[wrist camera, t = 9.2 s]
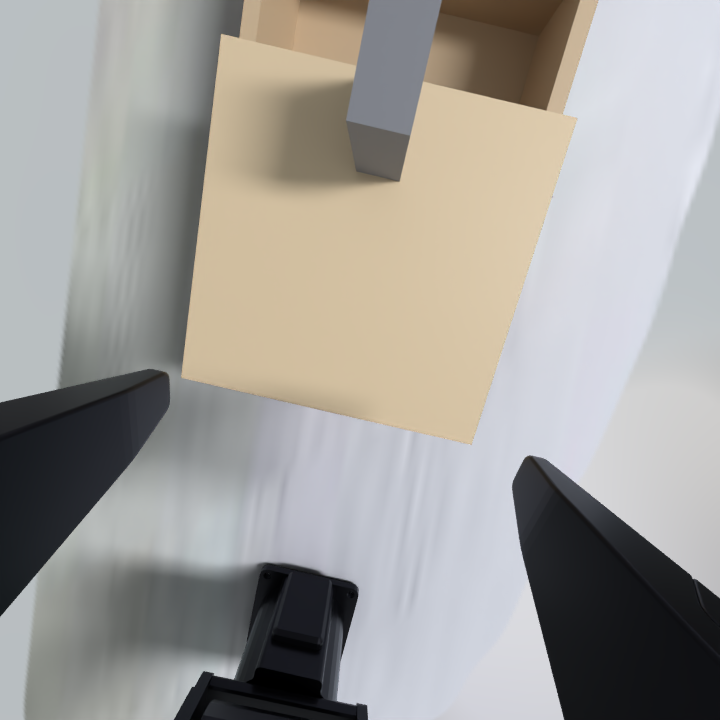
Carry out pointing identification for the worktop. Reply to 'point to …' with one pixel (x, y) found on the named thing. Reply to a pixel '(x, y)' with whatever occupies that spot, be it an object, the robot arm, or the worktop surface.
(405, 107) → the sliding lid
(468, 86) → the wooden box
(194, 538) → the worktop surface
